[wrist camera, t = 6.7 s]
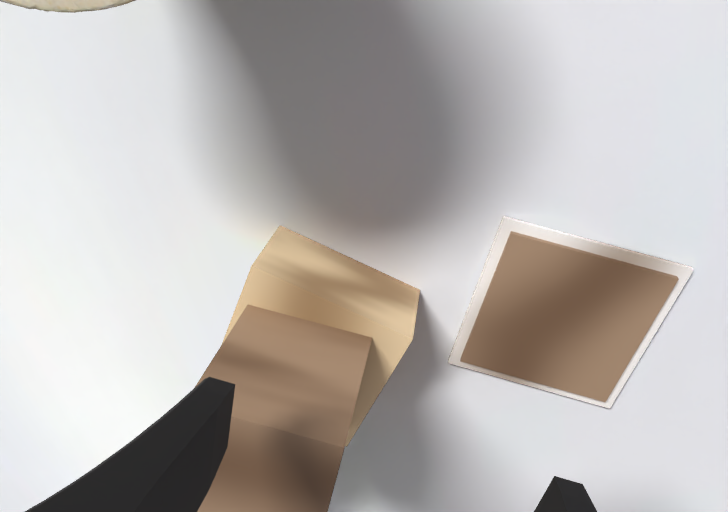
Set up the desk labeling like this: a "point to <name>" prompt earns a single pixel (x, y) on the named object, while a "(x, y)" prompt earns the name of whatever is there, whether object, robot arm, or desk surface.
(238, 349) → the walnut block
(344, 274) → the maple block
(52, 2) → the flower pot
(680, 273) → the tile
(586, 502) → the robot arm
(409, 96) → the desk surface
